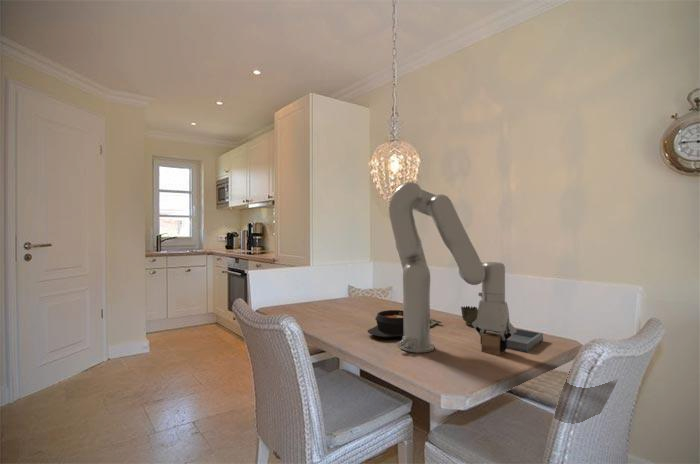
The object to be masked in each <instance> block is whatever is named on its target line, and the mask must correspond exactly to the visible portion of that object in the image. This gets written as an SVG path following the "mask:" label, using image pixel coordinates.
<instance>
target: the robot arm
mask: <svg viewBox="0 0 700 464" xmlns="http://www.w3.org/2000/svg"><path fill="white" fill-rule="evenodd" d="M413 210H414V211H417V212H419V213H421V214H423V215H425V216H429V217H431V218H432V220H433V222H434V225H435V227H436V229H437V232H438V233H439V236H440V237H441V239H442V241H443V243H444V245H445V246H446V248H447V249H448V250H449V252H450V253H451V255H452V257H453V258H454V261H455V263H456V264H457V267H458V274H459V277H460V278H461V279H462V280H463V281H464V282H465V283H466V284H469V285H471V286H478V285H480V284H481V292H478V294H477V295H478V297H480V298H481V299H480V300H479V303H478V307H477V309H478V314H477V319H476V320H475V321H474V322H473V323H472V325H473V328H474V329H475V330H476V332H477V333H478V335H479V336H480V345H481V347H482V334H484V333H486V332H488V331H495V332H500V335H501V338H502V340H501V341H500V351H501V352H503V351H505V352H506V350H507V349H508V348H507V339H508V338H509V337H510V336H512V335H513V334H514V333H516V332H517V330H516V329H517V328H516V327H515V326H514V325H513V324H512V323H511V322H510V321H511V320H510V313H509V306H508V303H507V302H506V267H505V265H504V263H502V262H496V261H495V262H494V261H487V262H482V261H481V258H480V257H479V255H478V253H477V250H476V248H475V247H474V245H473V243H472V242H471V240H470V238H469V237H470V236H469V235H468V233H467V231H466V229H465V227H464V226H463V223H462V221H461V219H460V217H459V215H458V212H457V211H456V208H455V206H454V204H453V202H452V200H451V199H450V198H449V196H448V195H445V194H435V193H431V192H429V191H426V190H424V189H422V187H421V186H419V184H417V183H416V182H413V181H406V182H404V183H402V184H401V185H400V186H399V187H398V188H396V190H395V191H394V192H393V193H392V196H391V198H390V200H389V207H388V213H389V214H388V215H389V220H390V224H391V228H392V232H393V237H394V240H395V247H396V251H397V253H398V257H399V260H400V263H401V268H402V306H403V307H402V308H403V310H402V311H403V336H402V337H401V340H399V341H397V342H396V346H397V348H400V349H401V350H403V351H405V352H408V353H416V354H417V353H418V354H420V353H421V354H422V353H429V352H431V351H434V349H435V345H434V344H435V343H433V342H431V341H430V340H431V327H430V318H431V312H430V311H431V310H430V309H431V305H430V304H431V303H430V302H431V301H430V300H431V297H430V295H431V272H430V269H429V266H428V263H427V260H426V256H425V252H424V248H423V244H422V240H421V238H420V236H419V233H418V229H417V226H416V221H415V216H414V213H413V212H414V211H413ZM515 328H516V329H515ZM509 329H510V332H509V333H507V332H506V330H509Z"/></svg>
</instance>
